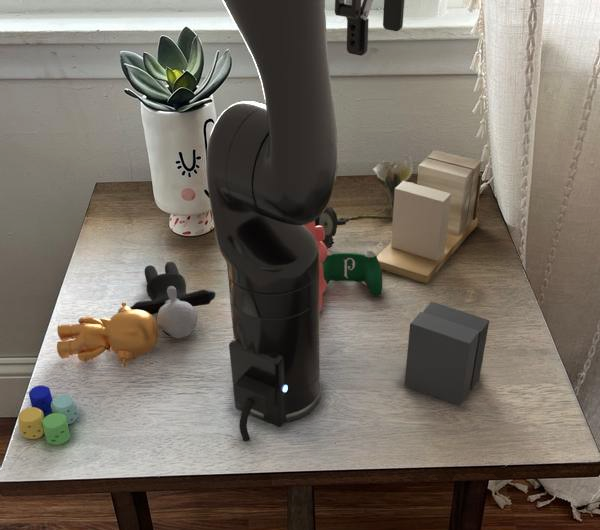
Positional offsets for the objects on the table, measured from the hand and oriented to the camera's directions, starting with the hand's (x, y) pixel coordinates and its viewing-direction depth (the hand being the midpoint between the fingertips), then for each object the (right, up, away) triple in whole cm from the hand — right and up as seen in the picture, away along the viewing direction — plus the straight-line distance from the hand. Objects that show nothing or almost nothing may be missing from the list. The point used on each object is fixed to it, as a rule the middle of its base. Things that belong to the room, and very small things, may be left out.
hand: (375, 41), depth 92 cm
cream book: (+8, -20, +21) cm, 30 cm away
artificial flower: (+2, -13, +30) cm, 33 cm away
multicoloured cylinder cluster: (-34, -41, -1) cm, 53 cm away
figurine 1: (-37, -33, +6) cm, 50 cm away
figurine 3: (-8, -29, +14) cm, 33 cm away
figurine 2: (-25, -29, +13) cm, 41 cm away
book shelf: (+9, -19, +24) cm, 32 cm away
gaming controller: (-2, -25, +18) cm, 31 cm away
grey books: (+8, -38, +3) cm, 39 cm away
